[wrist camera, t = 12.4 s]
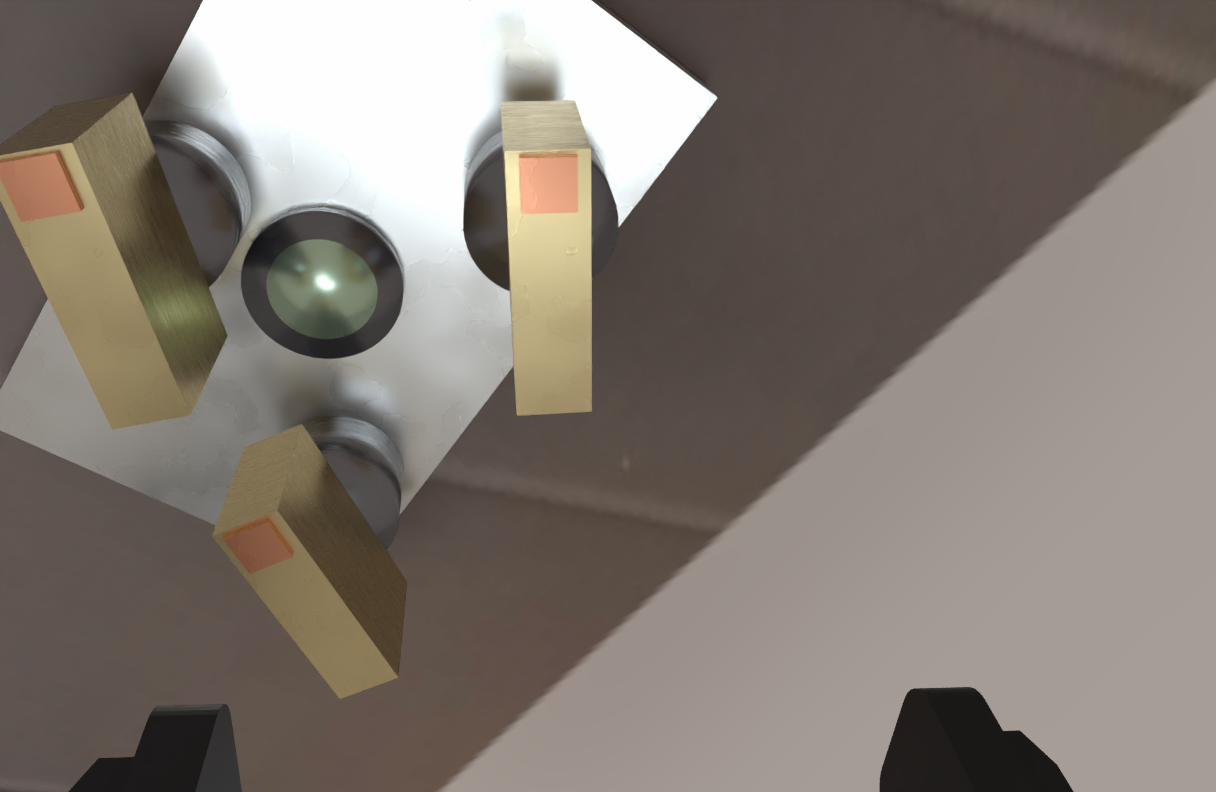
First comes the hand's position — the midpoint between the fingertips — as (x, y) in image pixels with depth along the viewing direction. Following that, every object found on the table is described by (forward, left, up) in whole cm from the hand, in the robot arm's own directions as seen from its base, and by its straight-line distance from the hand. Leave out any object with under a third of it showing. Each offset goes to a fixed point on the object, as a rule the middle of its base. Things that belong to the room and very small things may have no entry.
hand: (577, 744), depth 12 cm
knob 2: (-10, 0, -19) cm, 21 cm away
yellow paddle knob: (-5, +8, -19) cm, 21 cm away
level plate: (-4, +3, -20) cm, 21 cm away
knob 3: (+1, 0, -19) cm, 19 cm away
